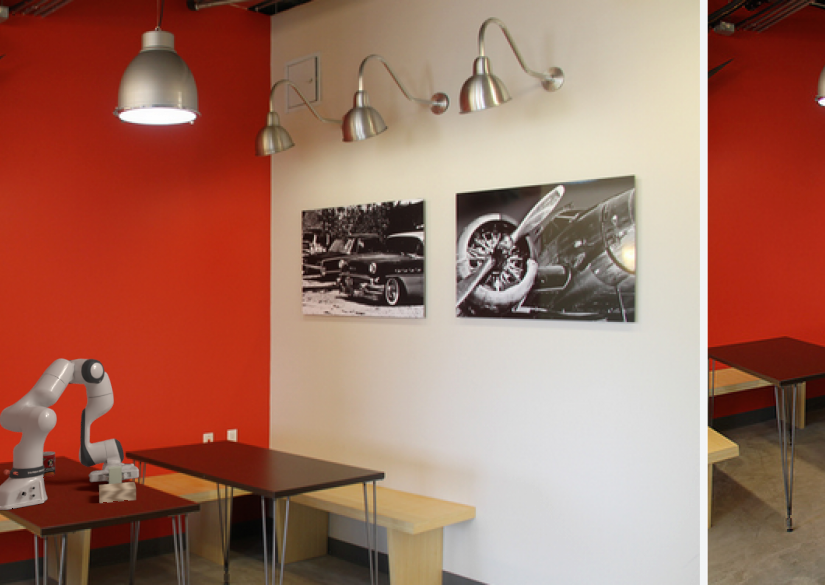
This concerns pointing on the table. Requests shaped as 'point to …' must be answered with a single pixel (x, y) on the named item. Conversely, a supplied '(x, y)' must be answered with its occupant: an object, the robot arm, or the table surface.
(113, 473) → the sage block
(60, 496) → the table surface
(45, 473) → the canned food
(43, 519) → the table surface
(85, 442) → the robot arm
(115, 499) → the birch slab
